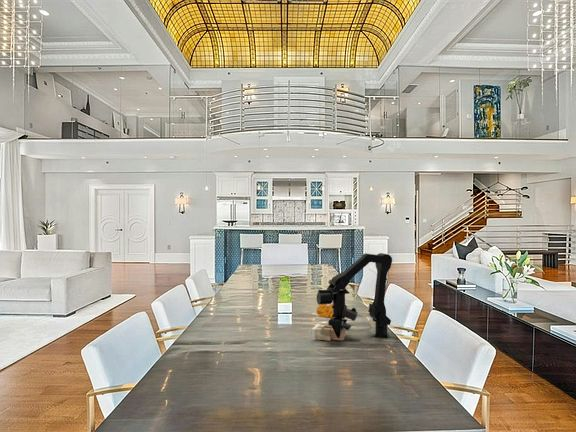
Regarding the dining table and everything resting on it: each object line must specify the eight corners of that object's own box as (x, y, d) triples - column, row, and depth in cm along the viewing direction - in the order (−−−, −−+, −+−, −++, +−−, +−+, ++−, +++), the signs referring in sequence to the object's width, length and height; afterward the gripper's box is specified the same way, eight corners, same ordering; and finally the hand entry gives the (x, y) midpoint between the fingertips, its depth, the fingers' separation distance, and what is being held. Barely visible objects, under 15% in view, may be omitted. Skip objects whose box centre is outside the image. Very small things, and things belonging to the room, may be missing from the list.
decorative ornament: (317, 311, 233) (316, 300, 263) (317, 319, 233) (316, 307, 263) (351, 311, 232) (346, 300, 262) (351, 320, 232) (346, 308, 262)
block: (320, 334, 202) (320, 324, 202) (334, 335, 200) (334, 325, 200) (315, 339, 194) (315, 329, 194) (330, 340, 191) (329, 330, 191)
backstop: (317, 334, 203) (317, 323, 203) (320, 334, 202) (320, 324, 202) (311, 339, 194) (311, 329, 194) (315, 340, 193) (315, 329, 193)
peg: (342, 340, 192) (342, 331, 192) (321, 338, 195) (322, 329, 195) (344, 338, 195) (344, 329, 195) (324, 335, 199) (324, 327, 199)
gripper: (352, 308, 183) (352, 343, 183) (359, 300, 200) (359, 332, 200) (327, 307, 186) (328, 341, 186) (336, 299, 204) (337, 330, 204)
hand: (339, 336), depth 194 cm, fingers closed on peg, 4 cm apart
